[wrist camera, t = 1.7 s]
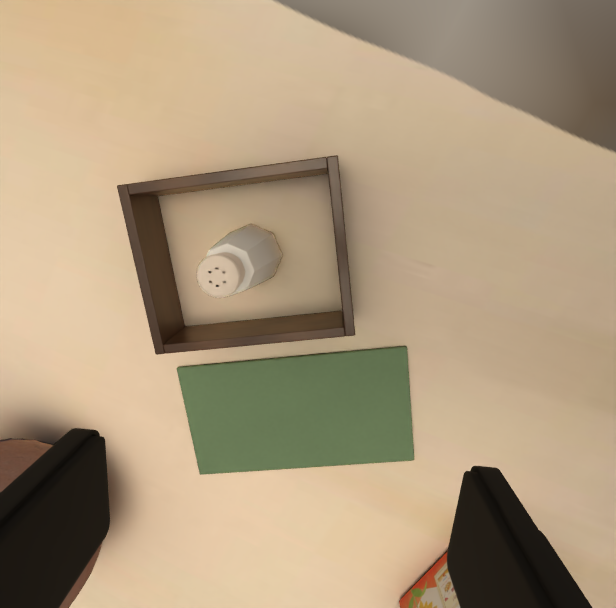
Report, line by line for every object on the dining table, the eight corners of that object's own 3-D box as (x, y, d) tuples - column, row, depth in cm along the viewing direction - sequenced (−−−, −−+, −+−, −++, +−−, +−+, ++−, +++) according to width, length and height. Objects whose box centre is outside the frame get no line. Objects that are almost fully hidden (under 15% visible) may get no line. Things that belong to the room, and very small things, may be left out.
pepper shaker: (221, 223, 34) (171, 232, 24) (282, 224, 34) (259, 233, 24) (223, 283, 36) (177, 317, 25) (282, 285, 36) (261, 320, 25)
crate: (337, 162, 33) (337, 155, 28) (352, 317, 36) (355, 335, 31) (147, 187, 34) (116, 185, 29) (178, 335, 37) (155, 354, 33)
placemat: (406, 345, 36) (407, 347, 36) (413, 458, 39) (414, 460, 39) (178, 366, 38) (176, 368, 38) (201, 472, 41) (199, 474, 41)
